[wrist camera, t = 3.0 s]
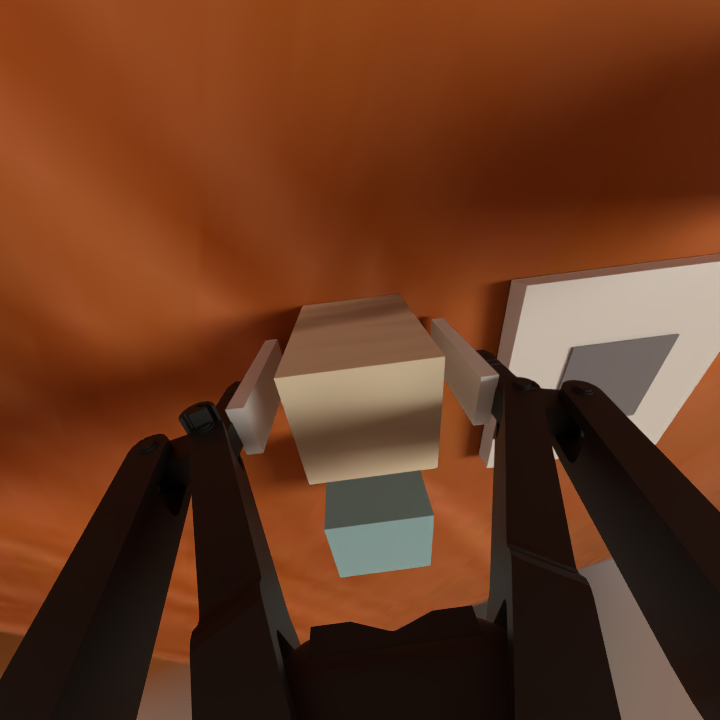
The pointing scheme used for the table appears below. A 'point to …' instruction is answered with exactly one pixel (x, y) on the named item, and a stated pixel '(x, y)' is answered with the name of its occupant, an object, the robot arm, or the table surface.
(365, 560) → the teal block
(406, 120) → the table surface
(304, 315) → the maple block
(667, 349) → the base plate
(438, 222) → the table surface
